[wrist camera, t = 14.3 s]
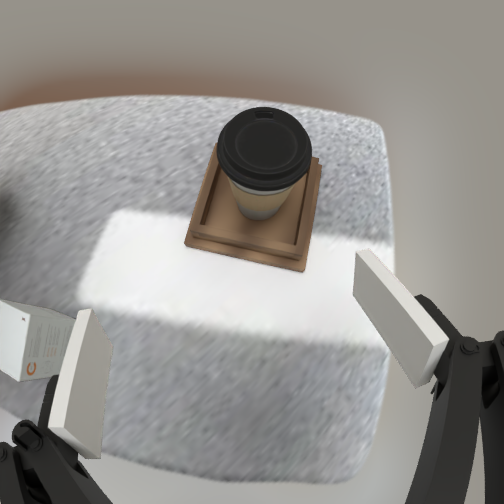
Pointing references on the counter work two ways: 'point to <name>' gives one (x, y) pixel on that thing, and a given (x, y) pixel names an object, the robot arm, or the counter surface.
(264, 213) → the coffee cup
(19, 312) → the small box
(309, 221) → the wooden tray
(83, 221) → the counter surface
